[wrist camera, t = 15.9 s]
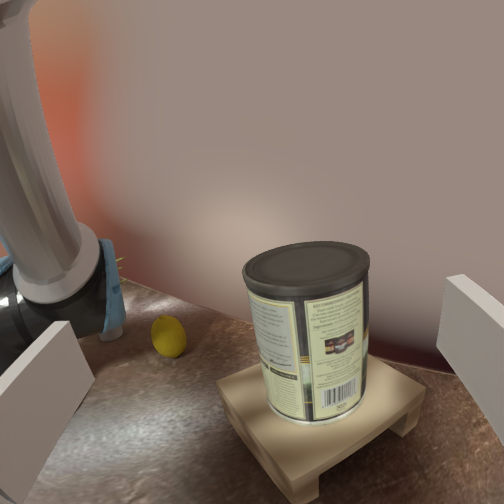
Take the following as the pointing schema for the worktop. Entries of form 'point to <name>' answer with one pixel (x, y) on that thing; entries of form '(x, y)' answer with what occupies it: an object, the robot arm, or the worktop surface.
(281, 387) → the coffee can
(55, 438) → the robot arm
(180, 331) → the lemon
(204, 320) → the worktop surface
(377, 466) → the worktop surface
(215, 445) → the worktop surface
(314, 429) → the wooden block
